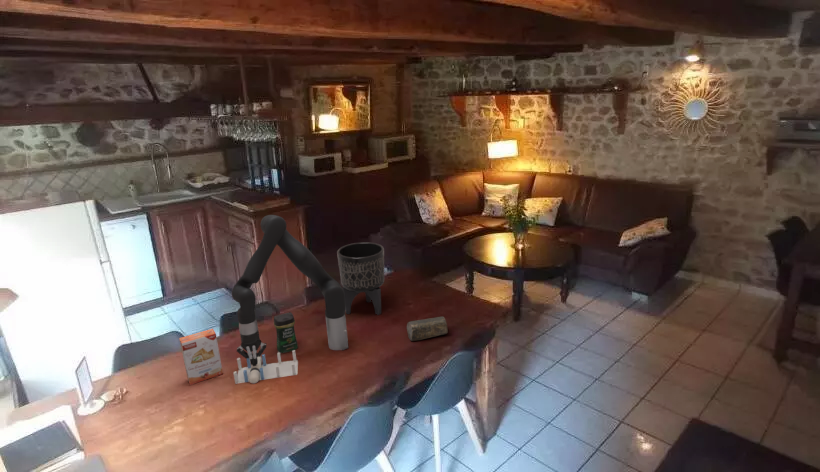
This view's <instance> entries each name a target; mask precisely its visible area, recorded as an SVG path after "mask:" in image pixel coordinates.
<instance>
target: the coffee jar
mask: <svg viewBox="0 0 820 472" xmlns="http://www.w3.org/2000/svg"><path fill="white" fill-rule="evenodd" d="M295 323H296V320H295V317H294V314H293V313H292V312H291V311H289V312H285V313H281V314H278V315H274V317H273V326H274V328H275V330H276V350H277V353H278V352H280V354H285V353H289V352H292V350H295V351H296V350H297V349H299V346H298V345H299V344H298V340H297V335H296V330H295Z"/></svg>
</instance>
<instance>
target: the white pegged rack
mask: <svg viewBox="0 0 820 472" xmlns="http://www.w3.org/2000/svg"><path fill="white" fill-rule="evenodd" d="M291 352H292V359H293V360H287V361H282V357H281V356H282V355H281V353H280V352H278V351H277V353H276V355H277V362H272V363H267V361H266V354H265V353H264V354H261V358H262V364H261V368H260V375H259V380H258V381H263V380H264V381H265V380H269V379H277V378H283V377H289V376H297V375H298V372H299V371H298V366H299V360H298V359H297V356H296V349H295V350H292V351H291ZM236 361H237V367H238V370H237V371H233V378H234V383H235V384H237V385H238V384H242V383H250V382H249V375H250V370H251V366H252V365H251V362H250V359H249V358H247V359H246V363H247V366H245V367H242V360H241V358H240V357H237V358H236Z"/></svg>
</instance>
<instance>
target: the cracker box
mask: <svg viewBox="0 0 820 472" xmlns="http://www.w3.org/2000/svg"><path fill="white" fill-rule="evenodd" d="M179 343H180V344H179V345H180V349H181V353H182V357H183V362H184V369H185V373H186V377H187V381H188V382H189V385H190V386H191V385H195V384H198V383H200V382H203V381H206V380H209V379H212V378H215V377H219V376H221V375H223V374H224V373H223V371H224V370H223V366H222V361H221V355H220V348H219V344H218V338H217V334H216V331H215V330H214V328H209V329H207V330H203V331H199V332H195V333H193V334H189V335H186V336H182V337H179Z"/></svg>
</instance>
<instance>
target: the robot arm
mask: <svg viewBox="0 0 820 472" xmlns="http://www.w3.org/2000/svg"><path fill="white" fill-rule="evenodd" d="M260 229H261V231H262V233H263V236H262V239H261V242H260V243H259V245H258V247H257V249H256V250H255V251H254V252H253V254H252V255H251V257H250V259H249V260H248V262H247V265H246V266H245V269H244V272H243V274H242V275H241V277H240V278H238V280H237V282H236V283H235V284H234V286H233V288H232V290H231V297H232V299H233V300H234V301H236V303H238V304H239V308H238V310H237V318H238V319H237V320H238V329H239V336H240V341H241V343H240V345H239V346H238V347H237V348H236V352H237V353H238V354H240V355H241V356H242V357H243V358H244V359H246V360H247V358H249V359H250V363H251V366H252V365H253V366H256V364H257V363H258V359H257V357H260V356H261V357H262V355H263V353H264V351H265V350H266V349H267V342H262V340H261V337H260V332H259V325H258V322H257V317H256V311H255V308H256V294H255V292H254V290H253V289H251V287H252V285H253V284H258V283H259V281H260V280H261V277H262V275H263V273H264V270H265V268H266V265H267V263H268V261H269V259H270V257H271V255H272V254H273V252H274V250H275V248H276V246H277V247H279V249H281V251H282V252H283V253H284V255H286V257H287V258H288V260H290V262H291V263H292V264H293V265H294V266H295V267H296V269H297V270H299V272H301V273H302V275H304V276H306V277H307V278H308V279H310V280H311V281H312V282H313V283H314V285H316V286H317V287H318V289H319V291H320V292H321V294H322V296H323V298H324V303H325V310H324V311H325V312H324V315H325V323H326V324H325V325H326V333H327V341H328V342H327V343H328V348H329V349H330V350H333V351H344V350H346V349H349V341H348V340H349V339H348V338H349V337H348V330H347V329H348V328H347V319H346V318H347V317H346V312H345V294H344V290H343V289H342V287H343V286H342V284H340V283H339V282H338V281H337V280H336V279H335V278H333V277H332V276H331V275H330V274H329V273H328V272H327V271H326V270H325V268H324V267H323V265H322V264H321V262H320V261H319V260H318V259H317V258H316V256H315V255H314V254H313V253H312V252H311V251H310V249H309V248H308V247H307V246H306V245H304V244H303V243H302V242H301V241H300V240H298V239H296V238H295V237H294V236H293V235H292V234H291V233H290V232H289V231H288V230H287V222H286V220H285V219H284V218H283V217H282V216H279V215H275V214H268V215H265V216H264V217H262V219H261V221H260ZM259 348H260V349H259Z"/></svg>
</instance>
